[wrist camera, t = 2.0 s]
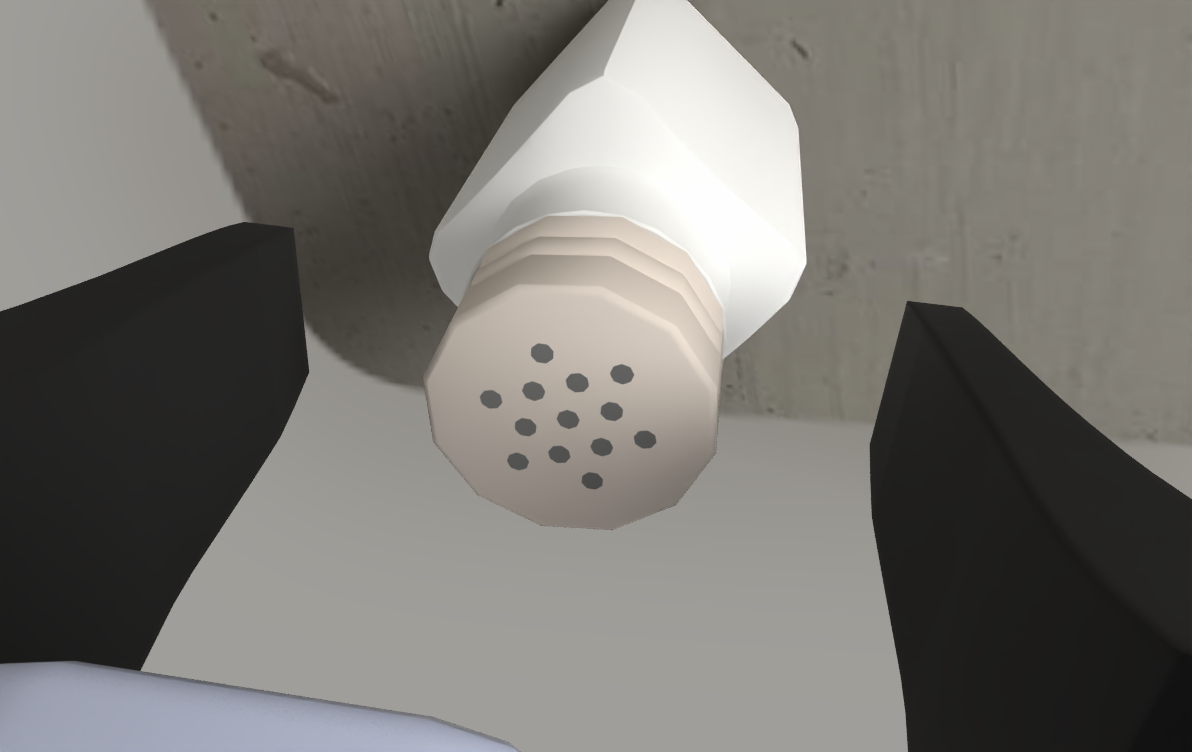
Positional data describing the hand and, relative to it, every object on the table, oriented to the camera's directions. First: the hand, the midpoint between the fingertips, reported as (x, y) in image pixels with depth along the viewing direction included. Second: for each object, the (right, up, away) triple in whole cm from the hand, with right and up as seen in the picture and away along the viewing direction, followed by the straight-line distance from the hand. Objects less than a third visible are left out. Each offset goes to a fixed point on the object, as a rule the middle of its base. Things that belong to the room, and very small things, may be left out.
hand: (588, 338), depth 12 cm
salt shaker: (+1, +4, +7) cm, 8 cm away
